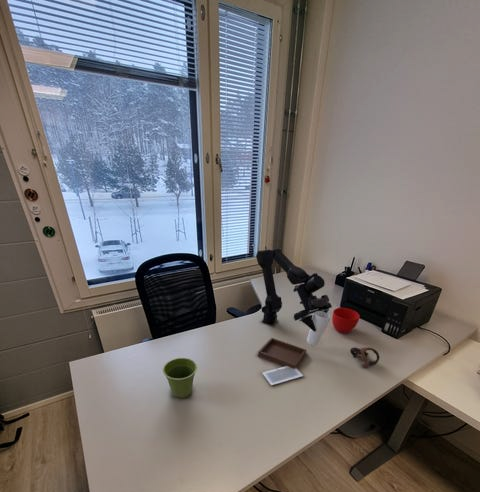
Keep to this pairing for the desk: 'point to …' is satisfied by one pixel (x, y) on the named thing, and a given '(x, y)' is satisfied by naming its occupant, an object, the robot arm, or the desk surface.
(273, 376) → the touchpad
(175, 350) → the desk surface
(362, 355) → the pottery mug
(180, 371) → the plant pot
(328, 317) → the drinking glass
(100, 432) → the desk surface
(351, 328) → the ceramic cup
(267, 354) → the tray
